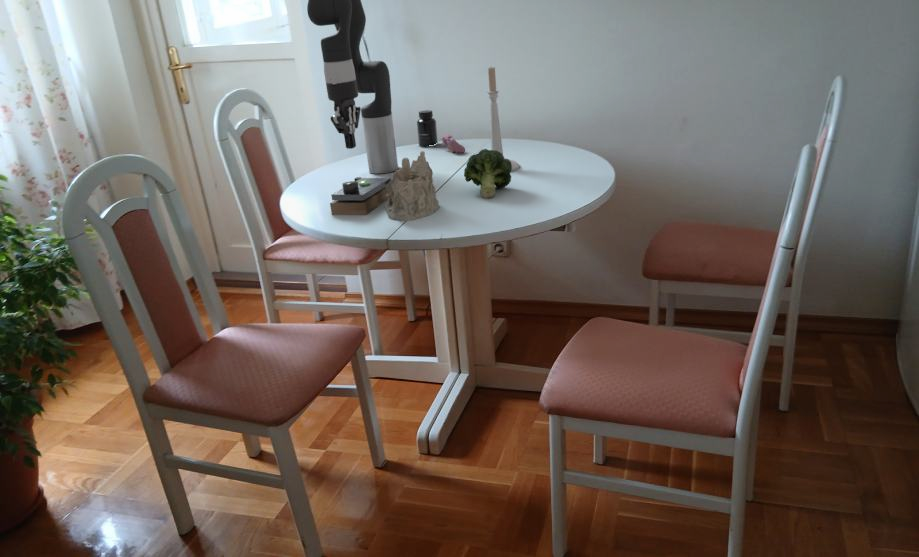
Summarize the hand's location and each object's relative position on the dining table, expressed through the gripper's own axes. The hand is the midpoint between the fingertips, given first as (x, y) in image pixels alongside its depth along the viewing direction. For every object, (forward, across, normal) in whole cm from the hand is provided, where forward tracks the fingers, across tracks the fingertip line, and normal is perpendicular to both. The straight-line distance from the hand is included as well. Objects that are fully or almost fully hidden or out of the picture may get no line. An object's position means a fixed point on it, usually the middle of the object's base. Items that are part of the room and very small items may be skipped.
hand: (351, 147), depth 191 cm
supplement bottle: (+18, -74, -8) cm, 76 cm away
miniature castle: (+16, +2, +14) cm, 22 cm away
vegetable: (+17, -15, +32) cm, 39 cm away
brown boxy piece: (+16, -4, 0) cm, 17 cm away
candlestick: (+17, -40, +27) cm, 52 cm away
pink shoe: (+18, -63, +5) cm, 66 cm away
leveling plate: (+13, -3, 0) cm, 13 cm away
